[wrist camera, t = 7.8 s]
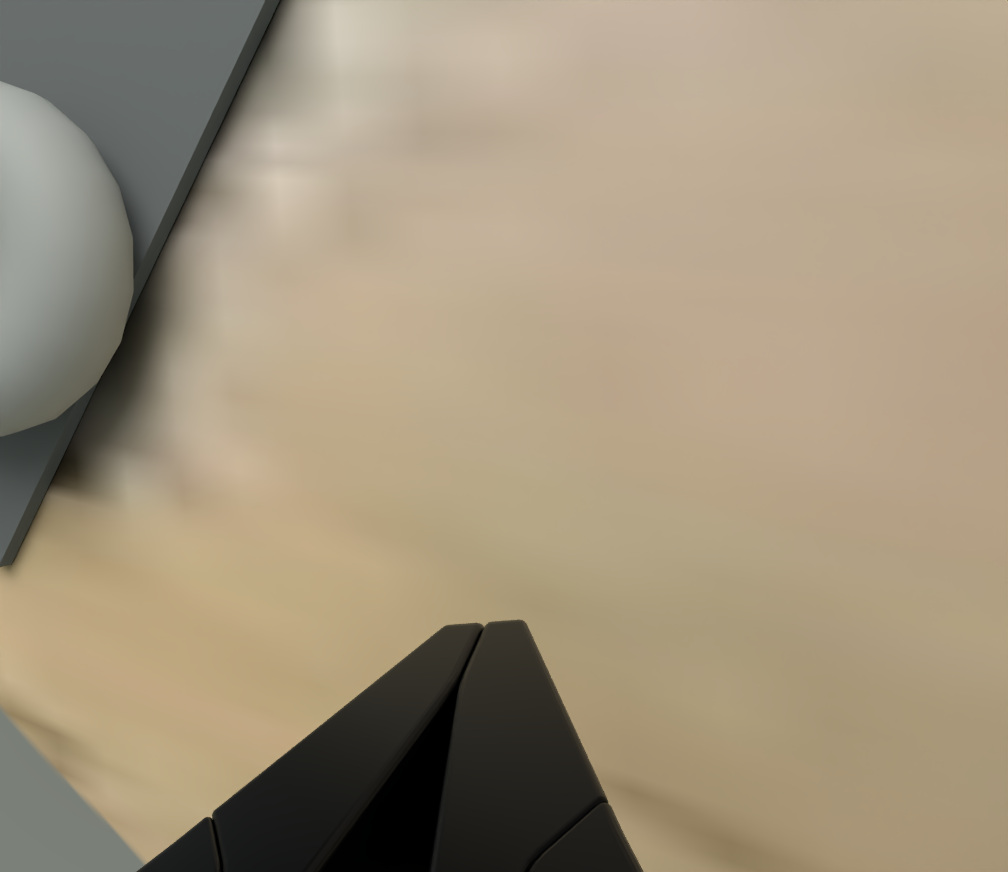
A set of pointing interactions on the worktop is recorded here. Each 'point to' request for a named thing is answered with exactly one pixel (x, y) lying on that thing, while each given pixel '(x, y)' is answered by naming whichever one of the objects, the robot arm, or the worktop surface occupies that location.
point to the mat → (122, 144)
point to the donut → (56, 262)
